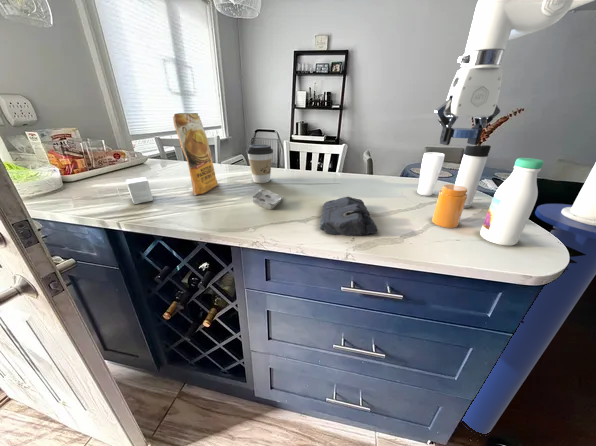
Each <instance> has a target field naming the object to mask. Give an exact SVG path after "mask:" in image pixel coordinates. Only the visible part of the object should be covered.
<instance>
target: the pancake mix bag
mask: <svg viewBox="0 0 596 446" xmlns="http://www.w3.org/2000/svg"><path fill="white" fill-rule="evenodd" d="M172 119H173V126H174V130H175V131H176V134H177V137H178V139H179V144H180V148H181V151H182V153H183V155H184V157H185V159H186V162H187V166H188V171H189V176H190V182H191V186H192V195H194V196H197V195H198V196H199V195H203V194H206V193H207V192H210V191H211V190H213V189H215V188H217V186H219V185H218V184H219V183H218V180H217V177H216V172H215V166H214V161H213V156H212V152H211V147H210V145H209V139H208V137H207V134H206V131H205V128H204V124H203V123H202V120H201V117H200V115H199V113H197V112H192V113H188V112H179V113H174V115H173V117H172Z"/></svg>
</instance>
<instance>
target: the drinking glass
mask: <svg viewBox="0 0 596 446" xmlns="http://www.w3.org/2000/svg"><path fill="white" fill-rule="evenodd" d="M445 157H446V154H445V153H442V152H436V151H432V152H431V151H428V152H427V151H426V152H424V153H423V157H422V161H421V165H420V171H419V172H420V173H419V181H418V187H417V193H418V194H419V195H421V196H425V197H426V196H427V197H428V196H432V195H433V194H434V191H435V188H436V185H437V182H438V179H439V177H440V174H441V171H442V168H443V165H444V162H445Z"/></svg>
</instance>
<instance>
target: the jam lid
mask: <svg viewBox="0 0 596 446" xmlns="http://www.w3.org/2000/svg"><path fill="white" fill-rule="evenodd" d="M452 128H453V133H452V137H451V138H453V139H468V138H476V137H477V135H478V131H479V130H478V129H471V128H468V127H452Z"/></svg>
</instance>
